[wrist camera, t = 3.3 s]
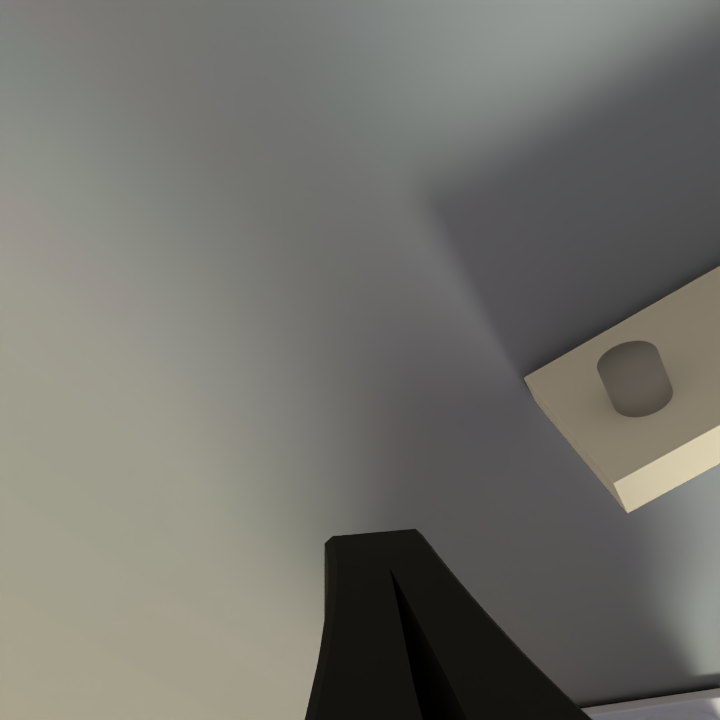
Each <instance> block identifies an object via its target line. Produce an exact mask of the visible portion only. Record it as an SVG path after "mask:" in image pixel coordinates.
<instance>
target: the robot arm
mask: <svg viewBox="0 0 720 720" xmlns="http://www.w3.org/2000/svg"><path fill="white" fill-rule="evenodd" d="M305 720H720V688H718V689H711V690H704V691H697V692H690V693H683V694H677V695H670V696H663V697H656V698H649V699H643V700H636V701H629V702H622V703H615V704H608V705H602V706H595V707H588V708H581V709H580V708H579V707H578V706H577V705H576V704H575V703H574V702H573V701H572V700H571V699H570V698H569V697H568V696H567V695H566V694H564V693H563V692H562V691H561V690H560V689H559V688H558V687H557V686H556V685H555V684H554V683H553V682H552V681H551V680H550V679H549V678H548V677H547V676H546V675H545V674H544V673H543V672H542V671H541V670H540V669H539V668H538V667H537V666H536V665H535V664H534V663H533V662H532V661H531V660H530V659H529V658H528V657H527V656H526V655H525V654H524V653H523V652H522V651H521V650H520V649H519V648H518V646H517V645H516V644H515V643H514V642H513V641H512V640H511V639H510V638H509V637H508V636H507V635H506V634H505V632H504V631H503V630H502V629H501V628H500V627H499V626H498V625H497V624H496V623H495V622H494V620H493V619H492V618H491V617H490V616H489V615H488V614H487V613H486V612H485V611H484V609H483V608H482V607H481V606H480V605H479V604H478V603H477V601H476V600H475V599H474V598H473V597H472V596H471V595H470V593H469V592H468V591H467V590H466V589H465V587H464V586H463V585H462V584H461V583H460V581H459V580H458V579H457V578H456V577H455V576H454V574H453V573H452V572H451V571H450V569H449V568H448V567H447V566H446V564H445V563H444V562H443V561H442V559H441V558H440V557H439V556H438V554H437V553H436V552H435V551H434V549H433V548H432V547H431V546H430V544H429V543H428V542H427V540H426V539H425V538H424V536H423V535H422V534H421V533H420V532H418V531H417V530H416V529H409V530H398V531H387V532H376V533H365V534H353V535H342V536H333V537H331V538H330V539H329V540H328V541H327V542H326V543H325V621H324V627H323V634H322V640H321V647H320V653H319V659H318V664H317V669H316V673H315V678H314V682H313V686H312V691H311V695H310V699H309V704H308V708H307V712H306V717H305Z"/></svg>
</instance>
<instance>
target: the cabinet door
mask: <svg viewBox="0 0 720 720" xmlns="http://www.w3.org/2000/svg"><path fill="white" fill-rule="evenodd" d="M524 380H525V382H526V383H527V385H528V387H529V389H530V391H531V393H532V395H533V397H534V399H535V401H536V403H537V404H538V406H539V407H540V408H541V409H542V410H543V412H544V413H545V414H546V415H547V416H548V418H549V419H550V420H551V421H552V423H553V424H554V425H555V426H556V427H557V429H558V430H559V431H560V432H561V433H562V435H563V436H564V437H565V438H566V439H567V441H568V442H569V443H570V444H571V446H572V447H573V448H574V449H575V450H576V452H577V453H578V454H579V455H580V456H581V458H582V459H583V460H584V461H585V462H586V464H587V465H588V466H589V467H590V469H591V470H592V471H593V472H594V473H595V475H596V476H597V477H598V478H599V479H600V481H601V482H602V483H603V484H604V486H605V487H606V488H607V489H608V490H609V492H610V493H611V494H612V495H613V496H614V498H615V499H616V500H617V501H618V502H619V504H620V505H621V506H622V507H623V509H624V510H625V511H626V512H627V513H629V512H631V511H633V510H635V509H636V508H638V507H640V506H642V505H644V504H646V503H647V502H649V501H651V500H653V499H655V498H657V497H658V496H660V495H662V494H664V493H666V492H668V491H670V490H671V489H673V488H675V487H677V486H679V485H681V484H682V483H684V482H686V481H688V480H690V479H692V478H693V477H695V476H697V475H699V474H701V473H703V472H704V471H706V470H708V469H710V468H712V467H714V466H715V465H717V464H719V463H720V266H718V267H717V268H715V269H713V270H711V271H710V272H708V273H706V274H704V275H703V276H701V277H699V278H697V279H696V280H694V281H692V282H690V283H689V284H687V285H685V286H683V287H682V288H680V289H678V290H676V291H675V292H673V293H671V294H669V295H668V296H666V297H664V298H662V299H661V300H659V301H657V302H655V303H654V304H652V305H650V306H648V307H647V308H645V309H643V310H641V311H640V312H638V313H636V314H634V315H633V316H631V317H629V318H627V319H626V320H624V321H622V322H620V323H619V324H617V325H615V326H613V327H612V328H610V329H608V330H606V331H605V332H603V333H601V334H599V335H598V336H596V337H594V338H592V339H591V340H589V341H587V342H585V343H584V344H582V345H580V346H578V347H577V348H575V349H573V350H571V351H570V352H568V353H566V354H564V355H563V356H561V357H559V358H557V359H556V360H554V361H552V362H550V363H549V364H547V365H545V366H543V367H542V368H540V369H538V370H536V371H535V372H533V373H531V374H529V375H528V376H526V377H524Z"/></svg>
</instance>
